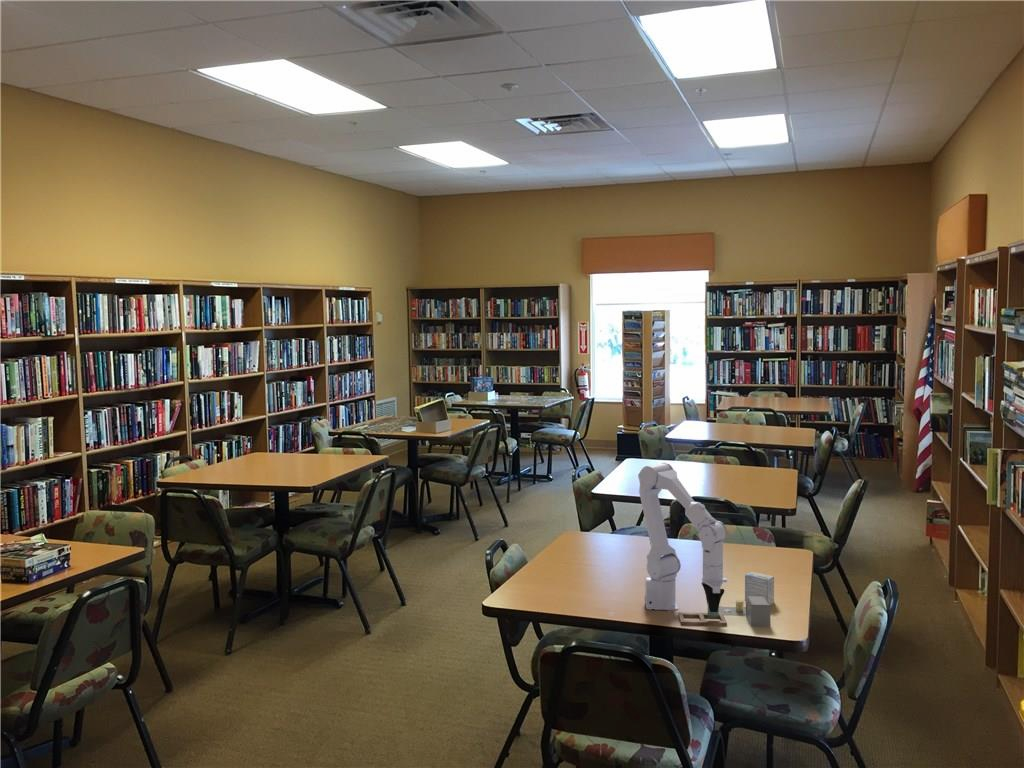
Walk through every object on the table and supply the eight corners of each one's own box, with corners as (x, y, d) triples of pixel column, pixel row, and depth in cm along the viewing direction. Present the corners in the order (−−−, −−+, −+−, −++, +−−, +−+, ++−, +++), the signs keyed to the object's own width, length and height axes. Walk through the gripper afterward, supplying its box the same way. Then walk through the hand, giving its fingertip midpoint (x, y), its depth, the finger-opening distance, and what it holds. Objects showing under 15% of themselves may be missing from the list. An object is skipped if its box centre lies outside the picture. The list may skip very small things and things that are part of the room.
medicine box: (774, 603, 249) (774, 576, 248) (768, 607, 246) (768, 579, 245) (750, 597, 254) (750, 571, 254) (744, 601, 251) (744, 574, 250)
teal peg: (708, 616, 232) (709, 596, 232) (706, 612, 236) (706, 592, 235) (719, 616, 232) (720, 596, 232) (717, 612, 236) (717, 592, 235)
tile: (720, 615, 239) (720, 604, 239) (716, 607, 246) (716, 597, 246) (751, 616, 238) (751, 605, 238) (746, 608, 245) (746, 597, 245)
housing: (745, 617, 238) (745, 595, 237) (764, 617, 237) (764, 596, 237) (751, 627, 230) (751, 605, 229) (770, 627, 229) (770, 605, 229)
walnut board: (681, 625, 231) (681, 621, 231) (678, 616, 239) (678, 612, 239) (726, 626, 230) (726, 622, 230) (722, 617, 238) (722, 613, 238)
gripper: (731, 571, 225) (730, 618, 226) (722, 556, 240) (722, 601, 241) (705, 571, 226) (705, 618, 227) (698, 556, 240) (698, 600, 241)
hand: (712, 609), depth 234 cm, fingers closed on teal peg, 3 cm apart
